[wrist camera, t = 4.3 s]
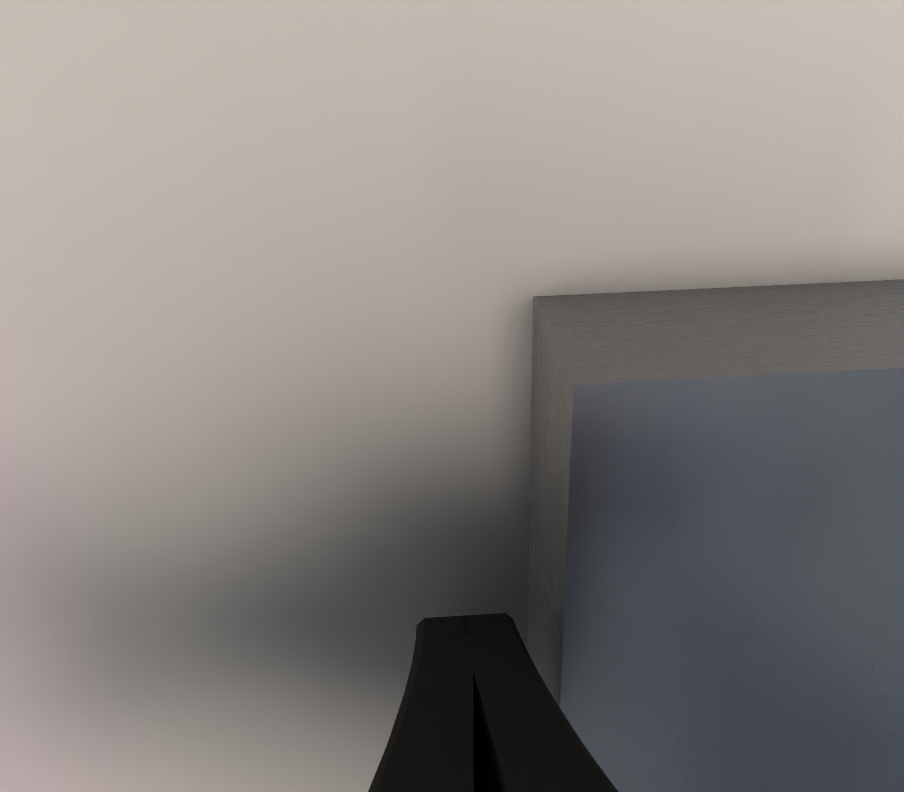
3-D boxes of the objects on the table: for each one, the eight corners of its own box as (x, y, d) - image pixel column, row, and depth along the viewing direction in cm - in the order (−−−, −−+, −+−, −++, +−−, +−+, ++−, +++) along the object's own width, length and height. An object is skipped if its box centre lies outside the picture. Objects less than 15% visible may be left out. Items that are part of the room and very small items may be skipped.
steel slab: (1044, 766, 16) (1177, 923, 13) (521, 805, 16) (549, 976, 13) (1249, 255, 12) (1506, 337, 9) (529, 288, 11) (574, 385, 8)
